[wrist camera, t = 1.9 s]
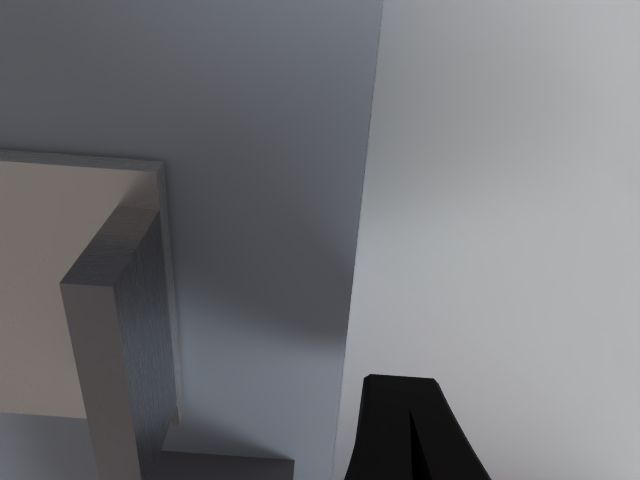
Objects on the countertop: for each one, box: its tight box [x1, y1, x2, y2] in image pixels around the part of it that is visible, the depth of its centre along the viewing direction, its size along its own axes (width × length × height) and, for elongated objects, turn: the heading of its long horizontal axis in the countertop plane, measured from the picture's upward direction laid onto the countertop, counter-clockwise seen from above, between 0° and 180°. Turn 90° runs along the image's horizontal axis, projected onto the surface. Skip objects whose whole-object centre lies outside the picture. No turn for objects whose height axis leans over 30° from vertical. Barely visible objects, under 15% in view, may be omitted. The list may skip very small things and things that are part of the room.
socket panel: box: [0, 0, 383, 480], centre depth 14 cm, size 17×16×2 cm
